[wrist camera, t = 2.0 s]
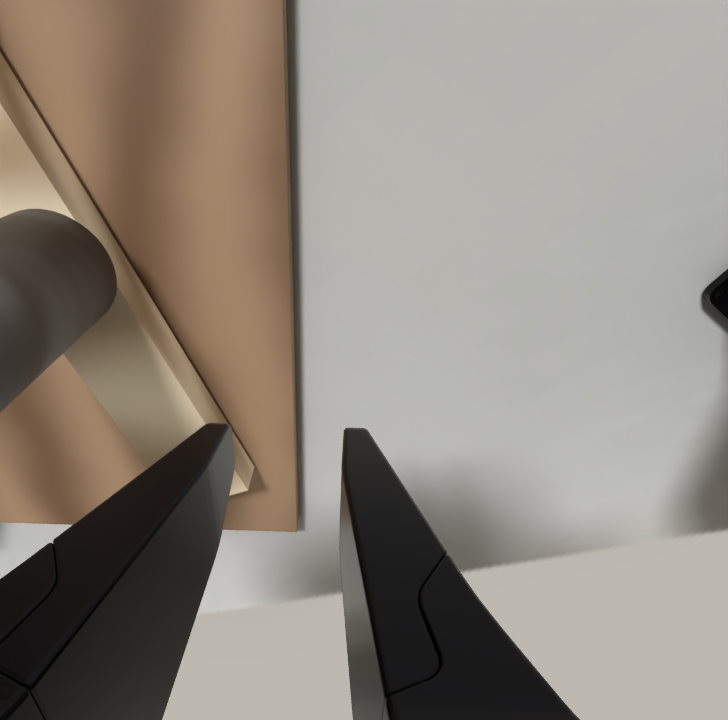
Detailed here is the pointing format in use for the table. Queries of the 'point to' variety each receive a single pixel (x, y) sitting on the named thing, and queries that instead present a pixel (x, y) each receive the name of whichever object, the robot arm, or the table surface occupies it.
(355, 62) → the table surface
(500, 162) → the table surface
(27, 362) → the link
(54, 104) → the walnut board
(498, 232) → the table surface
